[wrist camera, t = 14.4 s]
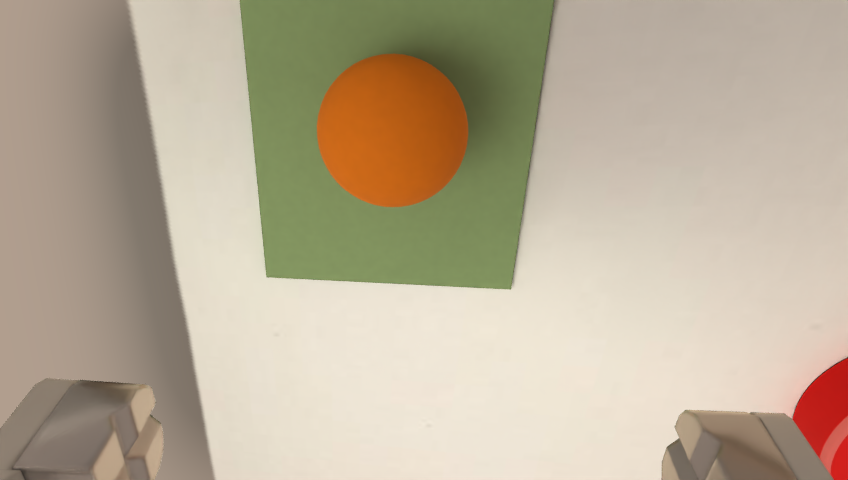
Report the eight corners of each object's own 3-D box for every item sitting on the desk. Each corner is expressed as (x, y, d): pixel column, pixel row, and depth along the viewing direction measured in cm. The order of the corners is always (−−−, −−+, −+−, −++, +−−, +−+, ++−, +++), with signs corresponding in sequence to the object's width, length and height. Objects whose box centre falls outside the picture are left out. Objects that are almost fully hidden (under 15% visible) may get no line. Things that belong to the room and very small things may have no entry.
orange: (301, 94, 25) (268, 145, 20) (408, 7, 23) (401, 39, 18) (387, 192, 27) (376, 261, 22) (490, 120, 25) (505, 176, 20)
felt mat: (225, -165, 21) (223, -166, 20) (574, -144, 21) (575, -145, 20) (267, 274, 30) (266, 277, 29) (510, 286, 30) (510, 289, 29)
